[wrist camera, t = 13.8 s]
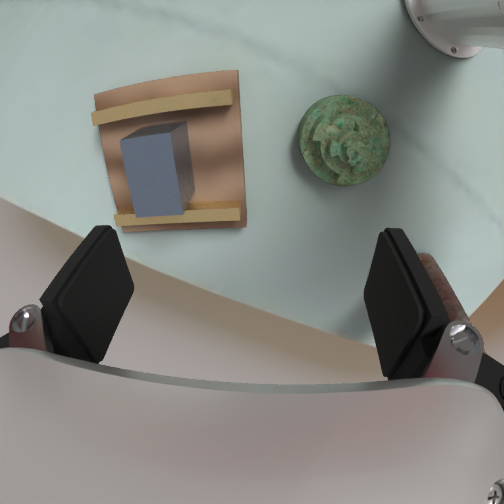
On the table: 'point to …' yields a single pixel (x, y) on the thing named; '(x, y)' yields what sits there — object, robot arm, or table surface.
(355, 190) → the table surface
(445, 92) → the table surface
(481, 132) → the table surface
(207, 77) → the channel stand
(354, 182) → the decorative artifact
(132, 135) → the block
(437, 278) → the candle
